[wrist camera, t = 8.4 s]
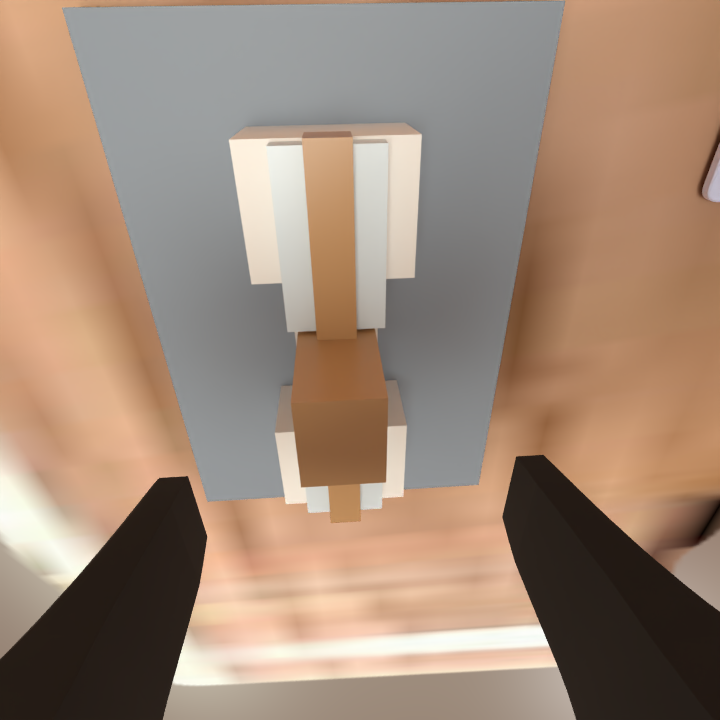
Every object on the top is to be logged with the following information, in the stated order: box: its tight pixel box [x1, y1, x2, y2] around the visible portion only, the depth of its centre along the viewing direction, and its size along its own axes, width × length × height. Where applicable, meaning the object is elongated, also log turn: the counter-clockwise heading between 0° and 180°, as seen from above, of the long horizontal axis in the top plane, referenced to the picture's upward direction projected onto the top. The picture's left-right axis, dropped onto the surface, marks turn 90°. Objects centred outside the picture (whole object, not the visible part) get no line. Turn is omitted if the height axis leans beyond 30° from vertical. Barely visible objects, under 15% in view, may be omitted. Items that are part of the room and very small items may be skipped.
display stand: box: [62, 1, 565, 504], centre depth 17 cm, size 14×20×4 cm
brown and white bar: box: [266, 131, 388, 523], centre depth 14 cm, size 3×14×4 cm, turn 1°
